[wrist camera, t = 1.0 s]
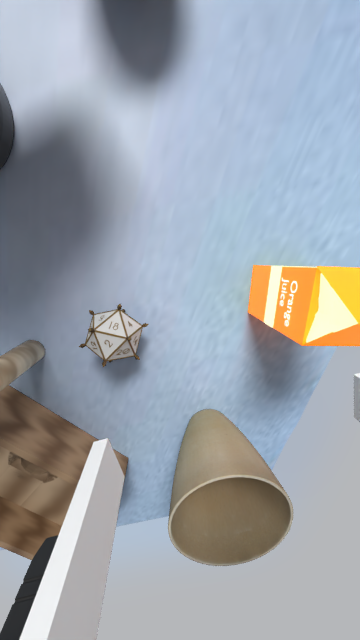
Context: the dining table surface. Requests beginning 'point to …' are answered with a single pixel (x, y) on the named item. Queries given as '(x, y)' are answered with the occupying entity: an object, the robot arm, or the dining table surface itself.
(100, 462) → the robot arm
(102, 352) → the game die
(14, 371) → the peg
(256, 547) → the plant pot
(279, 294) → the orange juice
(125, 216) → the dining table surface
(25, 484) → the box
